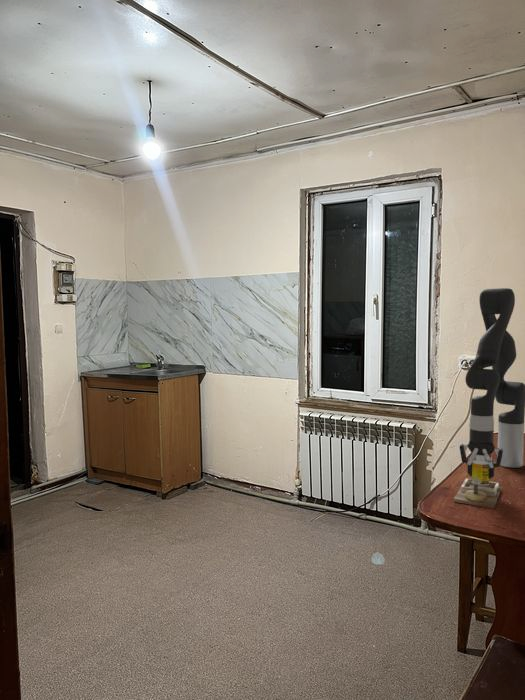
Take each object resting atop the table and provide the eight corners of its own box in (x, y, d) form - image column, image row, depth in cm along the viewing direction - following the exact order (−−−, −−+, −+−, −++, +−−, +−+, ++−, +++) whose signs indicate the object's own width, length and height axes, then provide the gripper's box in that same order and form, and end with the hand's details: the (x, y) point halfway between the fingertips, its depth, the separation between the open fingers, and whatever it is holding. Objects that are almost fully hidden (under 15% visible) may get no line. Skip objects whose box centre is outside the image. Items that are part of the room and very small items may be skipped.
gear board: (464, 484, 185) (464, 469, 185) (501, 490, 179) (501, 474, 179) (453, 501, 169) (454, 485, 169) (494, 508, 163) (494, 491, 163)
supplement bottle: (482, 487, 174) (483, 457, 173) (468, 483, 178) (468, 453, 177) (492, 484, 177) (493, 454, 176) (478, 480, 181) (478, 451, 180)
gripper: (506, 427, 176) (505, 476, 177) (461, 423, 183) (460, 470, 184) (503, 432, 169) (502, 483, 170) (457, 427, 176) (456, 476, 178)
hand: (480, 476), depth 177 cm, fingers closed on supplement bottle, 5 cm apart
